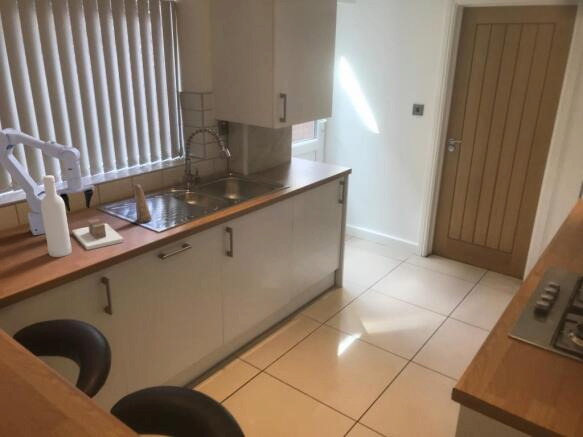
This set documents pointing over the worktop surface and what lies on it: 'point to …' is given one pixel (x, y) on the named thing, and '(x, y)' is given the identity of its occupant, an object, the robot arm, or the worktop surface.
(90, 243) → the cutting board
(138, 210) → the tan tapered horn
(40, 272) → the worktop surface
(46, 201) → the bottle
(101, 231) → the walnut block
